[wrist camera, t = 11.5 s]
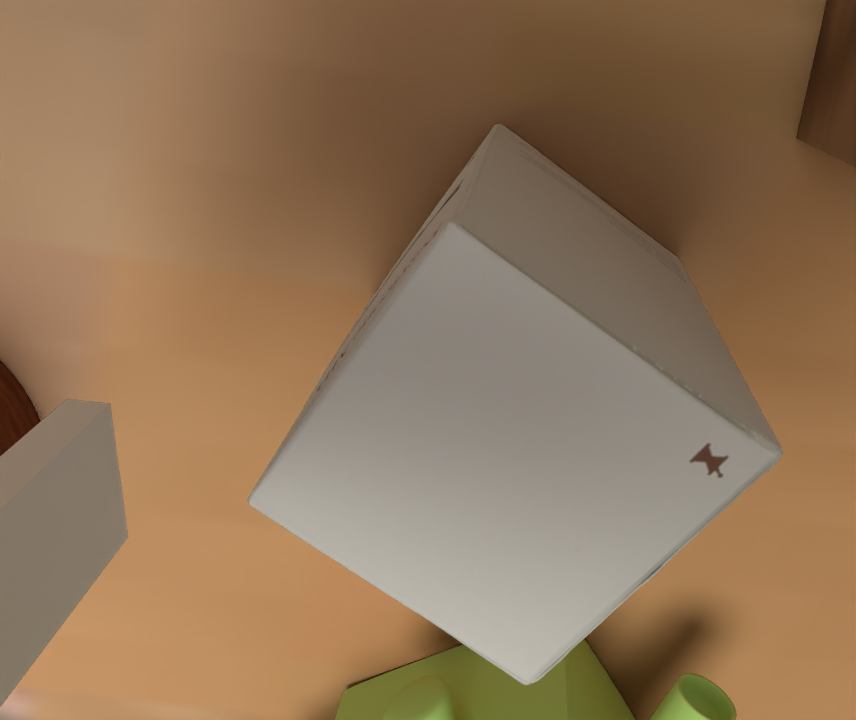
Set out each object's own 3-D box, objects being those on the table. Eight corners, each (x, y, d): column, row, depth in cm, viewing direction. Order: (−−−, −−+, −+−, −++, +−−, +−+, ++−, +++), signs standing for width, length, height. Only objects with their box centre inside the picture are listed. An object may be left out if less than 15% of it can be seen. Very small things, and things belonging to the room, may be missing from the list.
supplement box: (497, 113, 24) (456, 202, 13) (685, 258, 25) (805, 463, 14) (363, 297, 27) (232, 504, 16) (537, 421, 28) (533, 703, 17)
